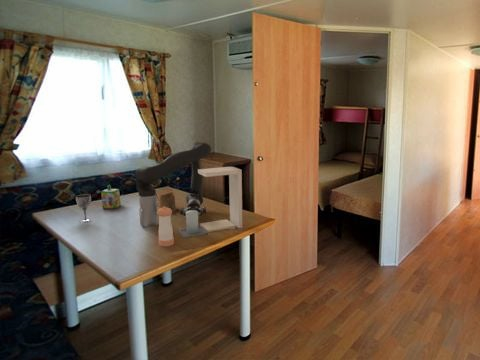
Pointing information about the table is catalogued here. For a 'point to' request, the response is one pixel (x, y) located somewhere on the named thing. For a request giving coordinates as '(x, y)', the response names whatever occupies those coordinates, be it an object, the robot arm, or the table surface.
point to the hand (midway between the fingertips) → (192, 214)
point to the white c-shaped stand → (235, 198)
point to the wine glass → (84, 203)
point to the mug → (167, 201)
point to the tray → (185, 235)
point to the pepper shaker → (165, 227)
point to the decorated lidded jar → (110, 198)
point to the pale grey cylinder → (192, 221)
